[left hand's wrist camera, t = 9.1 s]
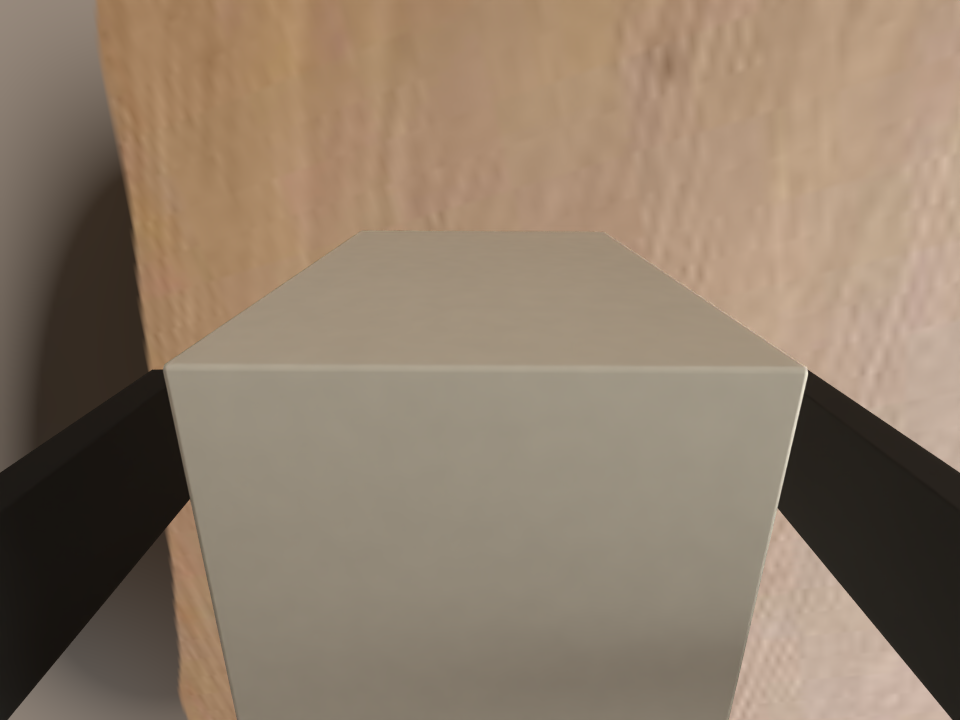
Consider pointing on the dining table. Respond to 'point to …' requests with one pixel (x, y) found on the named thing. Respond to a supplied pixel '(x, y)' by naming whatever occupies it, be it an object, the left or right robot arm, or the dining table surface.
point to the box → (484, 483)
